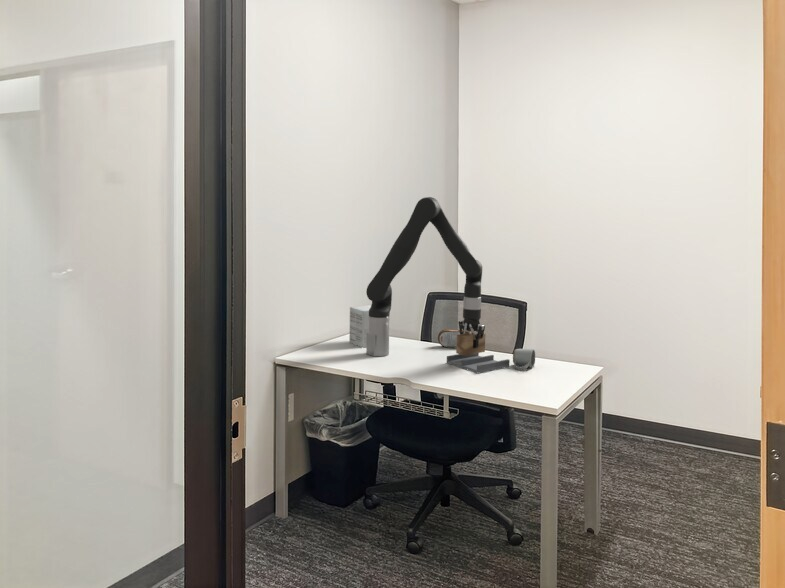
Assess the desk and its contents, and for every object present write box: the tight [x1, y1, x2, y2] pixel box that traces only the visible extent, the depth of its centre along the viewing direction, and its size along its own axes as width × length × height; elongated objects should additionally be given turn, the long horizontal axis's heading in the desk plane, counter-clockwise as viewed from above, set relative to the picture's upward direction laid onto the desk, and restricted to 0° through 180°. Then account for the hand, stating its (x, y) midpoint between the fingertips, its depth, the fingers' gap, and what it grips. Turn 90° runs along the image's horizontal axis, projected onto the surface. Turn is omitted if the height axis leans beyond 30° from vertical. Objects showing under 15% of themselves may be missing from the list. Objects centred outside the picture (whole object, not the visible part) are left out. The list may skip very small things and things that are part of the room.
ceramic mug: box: [512, 348, 536, 371], centre depth 255 cm, size 11×8×8 cm
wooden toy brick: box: [455, 332, 486, 356], centre depth 261 cm, size 5×12×8 cm, turn 128°
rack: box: [446, 353, 510, 374], centre depth 258 cm, size 18×19×3 cm
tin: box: [437, 328, 463, 348], centre depth 290 cm, size 15×3×8 cm, turn 84°
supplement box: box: [348, 304, 372, 348], centre depth 293 cm, size 13×13×18 cm
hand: (470, 346), depth 261 cm, fingers closed on wooden toy brick, 5 cm apart
